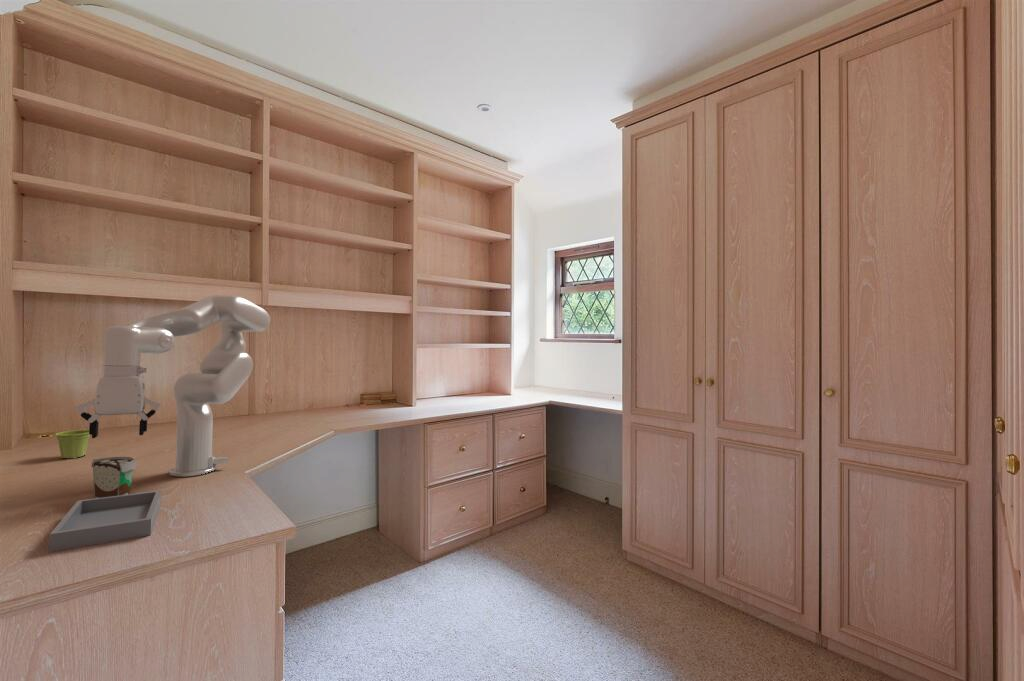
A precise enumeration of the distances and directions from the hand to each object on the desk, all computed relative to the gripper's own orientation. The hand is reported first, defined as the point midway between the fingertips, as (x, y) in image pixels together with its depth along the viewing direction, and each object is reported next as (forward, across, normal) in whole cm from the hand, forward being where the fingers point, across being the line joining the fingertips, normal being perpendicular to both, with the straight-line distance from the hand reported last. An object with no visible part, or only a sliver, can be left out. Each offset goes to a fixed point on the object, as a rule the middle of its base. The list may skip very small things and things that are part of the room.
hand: (118, 435), depth 123 cm
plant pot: (+16, +19, -58) cm, 63 cm away
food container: (+17, -1, -1) cm, 17 cm away
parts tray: (+17, -2, +22) cm, 28 cm away
